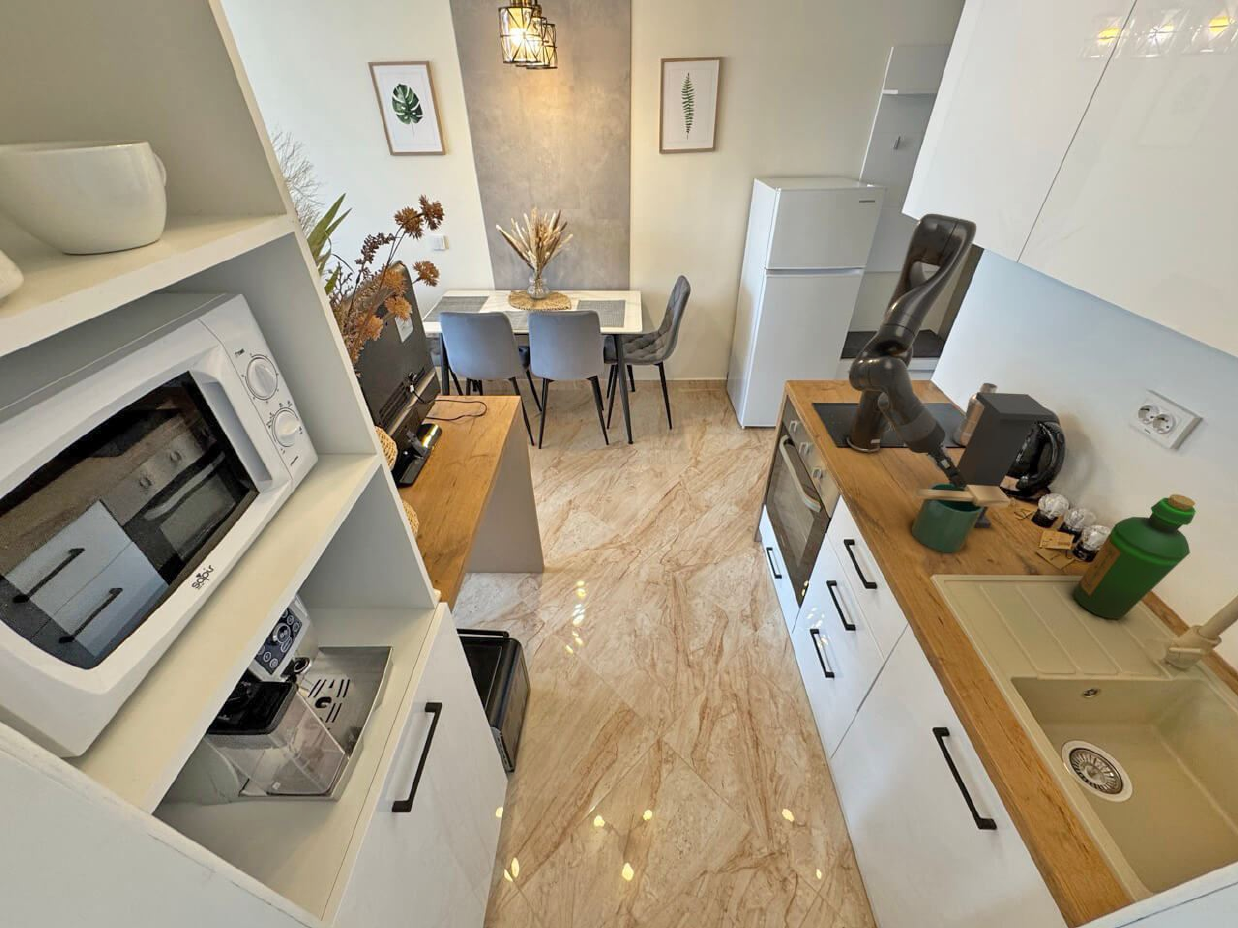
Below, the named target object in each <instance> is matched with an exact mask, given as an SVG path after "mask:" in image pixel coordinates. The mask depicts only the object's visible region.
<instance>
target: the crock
mask: <svg viewBox="0 0 1238 928" xmlns="http://www.w3.org/2000/svg"><path fill="white" fill-rule="evenodd" d="M928 489H929V490H946V491H963V492H964V489H965V488H963V487H959V488H956V487H955V486H954V485H953V484H949V482H947V483H945V482H938V483H935V484H932V485H931V486H929V488H928ZM983 508H984V507H982V506H974V504H973V503H972V502H971V501H954V500H937V499H923V500H922V503H921V505H920V508H919V510H918V512H917V515H916V516H915V518H914V521H913V523H912V526H911V534H912V535H913V536H914V538H915V539H916V540H917V541H918V542H919V543H920V544H922V545H924V546H925V547H926V548H927V547H928V548H930V549H931V550H934V551H937V552H940V553H941V552H942V553H956V552H959V551H961V550H962V549H963V547H964V546H965V544H966V542H967V540H968V539H969V536H970V535H971V533H972V531H973V529H974V528H975V527H974V525H975V523H976V522H977V520H978V518H979V516H980V514H981V512H982V510H983Z"/></svg>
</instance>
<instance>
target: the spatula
mask: <svg viewBox="0 0 1238 928" xmlns="http://www.w3.org/2000/svg"><path fill="white" fill-rule="evenodd" d="M913 495H914V496H915V498H916V499H923V500H924V499H937V500H954V501H971V502H972V503H973V504H974V506H982V507H988V508H1000V509H1008V508H1009V506H1010V504H1011V503H1012V500H1010V498H1009V497H1008V496H1007V494H1006V493H1005V492H1003V490H1002V489H1001V488H1000V487H997V486H980V485H966V487H965V489H964V492H963V491H946V490H929V488H928V489H927V488H926V489H925V488H914V489H913Z"/></svg>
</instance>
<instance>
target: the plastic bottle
mask: <svg viewBox="0 0 1238 928" xmlns="http://www.w3.org/2000/svg"><path fill="white" fill-rule="evenodd" d="M997 389H998V385H996V384H994V383H990V382H983V383H982V385H981V387H980V388H979V392H985V393H997V392H996V391H997ZM977 393H978V392H976V393H974V394H973V395H972V396H970V398H969V399H968V403H967V408H966V411H965V414H964V417H963V419H962V421H961V423H960V425H959V426H958V427H957V428H956V430H955V432H954V435H953V440H954V442H955V443H956V444H957V445H960V446H963V447H966V446H967V444H968V442H969V439H970V437H971V435H972V433H973V431H974V429H975V427H976V425H977V422H978V420H979V418H980V416H981V414H982V412H983V410H984V408H985V407H984V406H983V405H982V404H981V403H980V402H979V401H978V400H977V399H976V398H975V397H976V395H977Z"/></svg>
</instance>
